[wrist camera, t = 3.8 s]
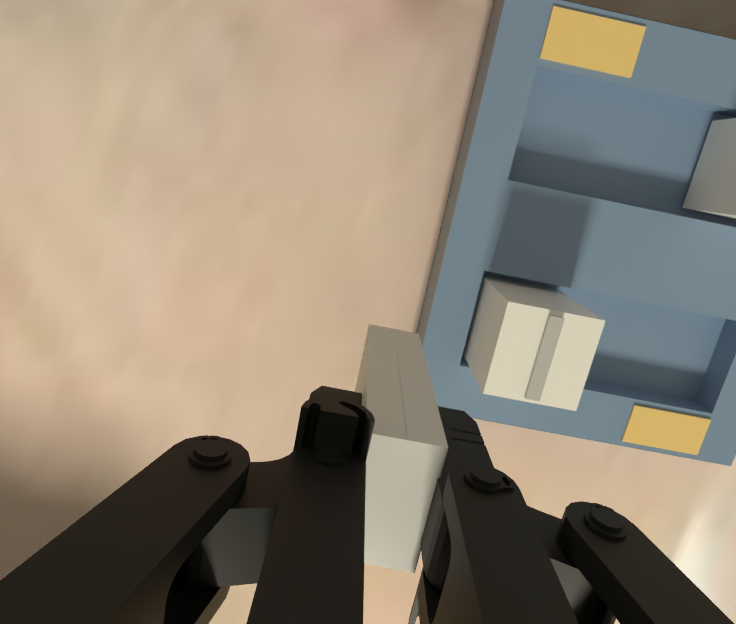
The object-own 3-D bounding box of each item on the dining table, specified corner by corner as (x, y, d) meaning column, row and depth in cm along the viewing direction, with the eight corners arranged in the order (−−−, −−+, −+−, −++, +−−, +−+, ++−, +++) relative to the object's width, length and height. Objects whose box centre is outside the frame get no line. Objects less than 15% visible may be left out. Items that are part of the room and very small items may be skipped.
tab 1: (461, 350, 28) (483, 395, 22) (480, 274, 27) (509, 302, 21) (536, 364, 28) (577, 413, 23) (558, 290, 27) (607, 322, 22)
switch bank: (402, 393, 30) (406, 416, 27) (496, -6, 25) (511, -27, 22) (697, 448, 31) (728, 475, 28) (845, 73, 26) (901, 62, 23)
